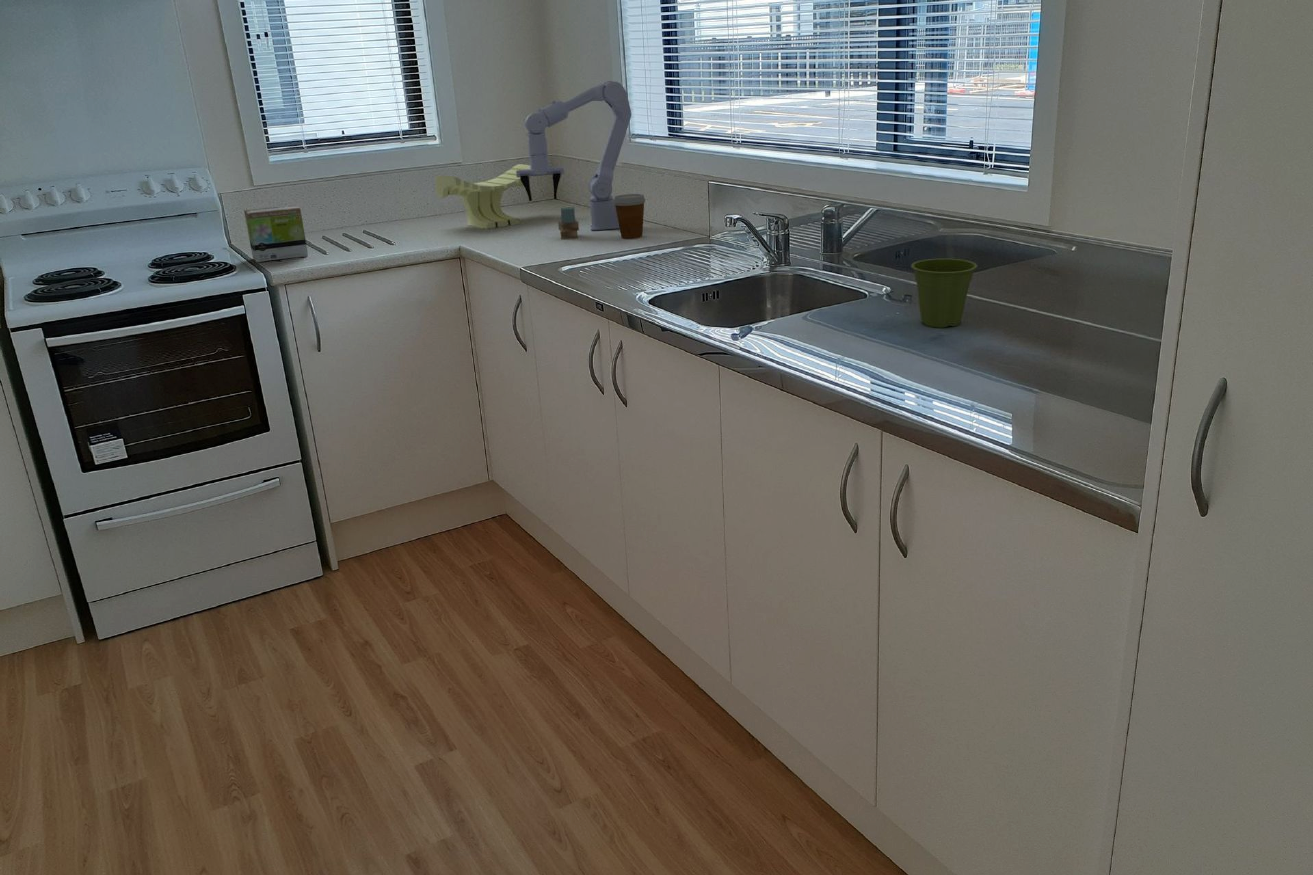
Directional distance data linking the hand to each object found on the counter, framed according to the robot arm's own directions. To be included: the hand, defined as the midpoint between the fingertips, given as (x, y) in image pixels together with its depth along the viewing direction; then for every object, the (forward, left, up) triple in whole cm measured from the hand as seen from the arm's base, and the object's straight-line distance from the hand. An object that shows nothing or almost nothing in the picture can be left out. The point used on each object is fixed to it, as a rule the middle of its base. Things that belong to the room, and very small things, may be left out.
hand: (543, 199), depth 314 cm
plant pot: (-79, +138, -11) cm, 159 cm away
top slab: (-7, +10, -8) cm, 15 cm away
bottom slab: (-7, +10, -11) cm, 16 cm away
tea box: (+80, +8, -11) cm, 81 cm away
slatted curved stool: (+19, -28, -11) cm, 35 cm away
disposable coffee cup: (-26, +18, -11) cm, 33 cm away
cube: (-8, +10, -6) cm, 14 cm away
